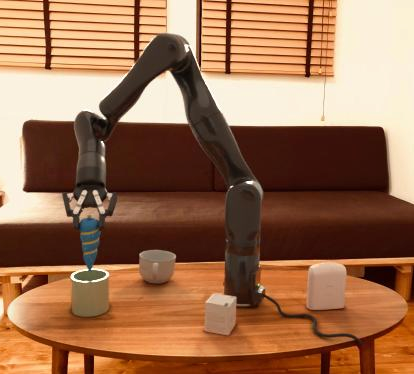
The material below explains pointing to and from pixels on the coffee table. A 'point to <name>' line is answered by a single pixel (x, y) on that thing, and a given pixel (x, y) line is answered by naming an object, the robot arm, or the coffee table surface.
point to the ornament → (89, 239)
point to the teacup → (156, 265)
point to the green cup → (89, 292)
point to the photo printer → (326, 286)
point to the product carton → (220, 314)
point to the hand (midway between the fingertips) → (88, 229)
